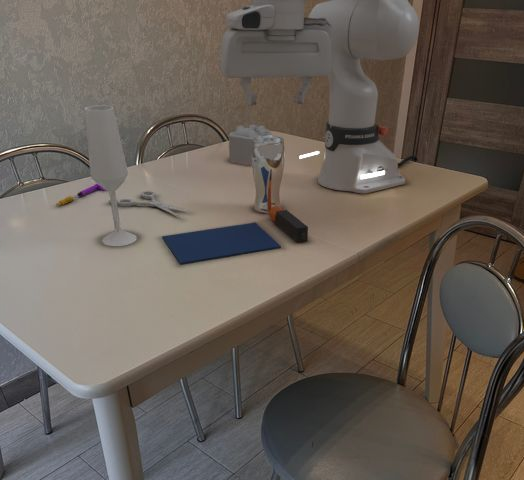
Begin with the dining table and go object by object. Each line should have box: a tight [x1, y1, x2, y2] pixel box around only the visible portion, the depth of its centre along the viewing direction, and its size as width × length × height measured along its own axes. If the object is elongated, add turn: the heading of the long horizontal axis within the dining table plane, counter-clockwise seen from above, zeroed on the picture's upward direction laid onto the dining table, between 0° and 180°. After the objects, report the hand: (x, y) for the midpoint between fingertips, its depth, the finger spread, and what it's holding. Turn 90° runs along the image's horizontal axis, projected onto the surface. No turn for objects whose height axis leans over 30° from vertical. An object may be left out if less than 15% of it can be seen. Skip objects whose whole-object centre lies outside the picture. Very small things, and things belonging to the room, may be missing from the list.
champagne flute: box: [84, 104, 137, 247], centre depth 98 cm, size 7×7×24 cm
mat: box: [161, 222, 282, 265], centre depth 104 cm, size 20×13×1 cm, turn 113°
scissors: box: [108, 190, 190, 218], centre depth 120 cm, size 11×1×20 cm
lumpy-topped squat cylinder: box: [228, 124, 272, 167], centre depth 151 cm, size 10×13×9 cm
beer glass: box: [251, 135, 285, 214], centre depth 116 cm, size 7×7×15 cm
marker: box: [268, 206, 309, 244], centre depth 108 cm, size 14×3×3 cm, turn 23°
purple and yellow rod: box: [56, 183, 106, 206], centre depth 125 cm, size 3×1×16 cm
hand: (275, 104), depth 99 cm, fingers open, 8 cm apart
